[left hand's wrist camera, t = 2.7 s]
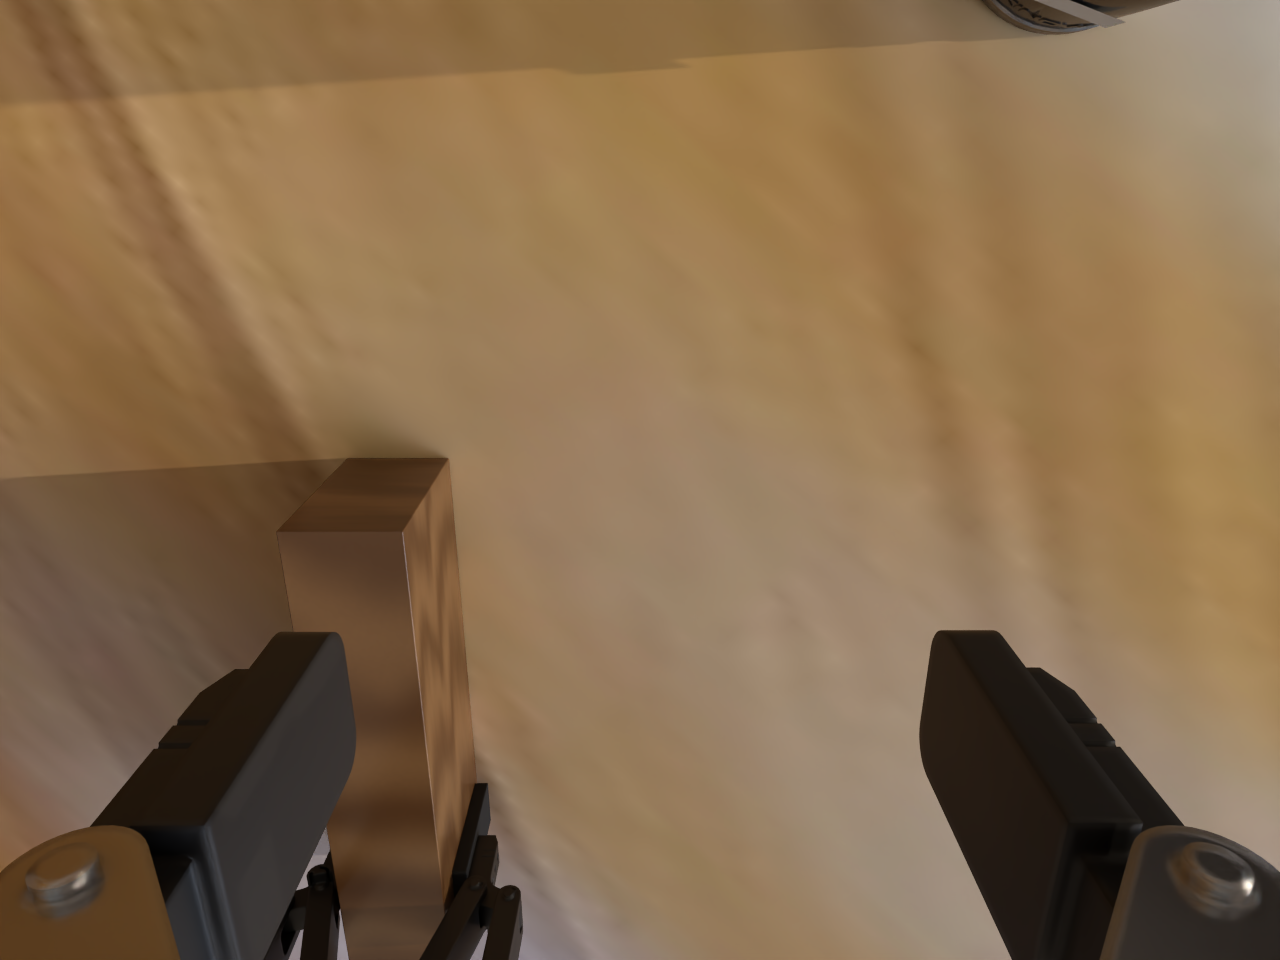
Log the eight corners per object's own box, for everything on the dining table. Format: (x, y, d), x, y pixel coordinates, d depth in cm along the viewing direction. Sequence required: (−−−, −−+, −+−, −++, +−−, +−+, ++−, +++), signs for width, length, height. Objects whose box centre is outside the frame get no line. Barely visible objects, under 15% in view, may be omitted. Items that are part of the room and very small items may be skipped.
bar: (346, 458, 42) (275, 531, 34) (448, 458, 42) (402, 531, 34) (398, 847, 51) (352, 981, 43) (482, 847, 51) (452, 980, 43)
